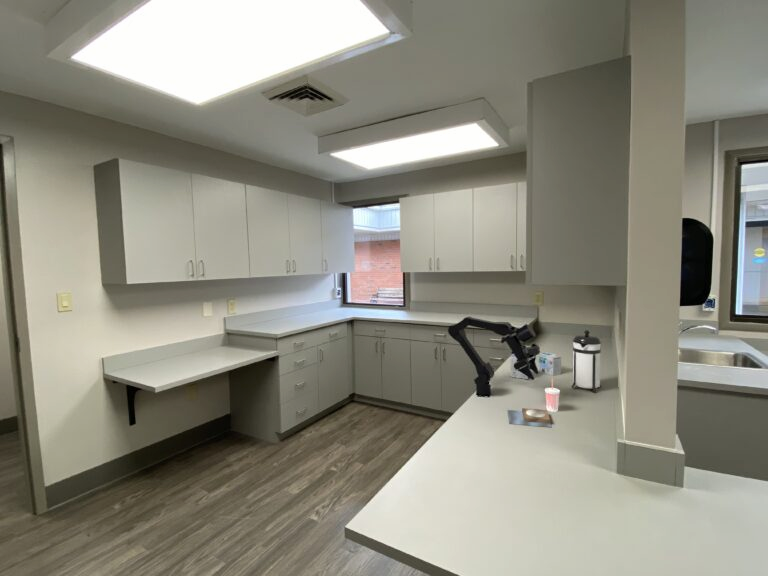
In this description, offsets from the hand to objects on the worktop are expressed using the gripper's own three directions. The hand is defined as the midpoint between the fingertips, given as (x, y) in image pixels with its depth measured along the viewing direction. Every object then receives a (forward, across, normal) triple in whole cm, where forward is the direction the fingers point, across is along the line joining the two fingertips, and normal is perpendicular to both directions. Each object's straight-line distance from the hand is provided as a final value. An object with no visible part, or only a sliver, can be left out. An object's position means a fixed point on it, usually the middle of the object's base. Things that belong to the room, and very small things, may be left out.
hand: (535, 376), depth 171 cm
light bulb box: (+9, +53, +10) cm, 55 cm away
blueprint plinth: (+11, -18, +7) cm, 22 cm away
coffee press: (+21, +36, -7) cm, 42 cm away
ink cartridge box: (+2, +37, +20) cm, 42 cm away
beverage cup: (+15, -3, +1) cm, 16 cm away
